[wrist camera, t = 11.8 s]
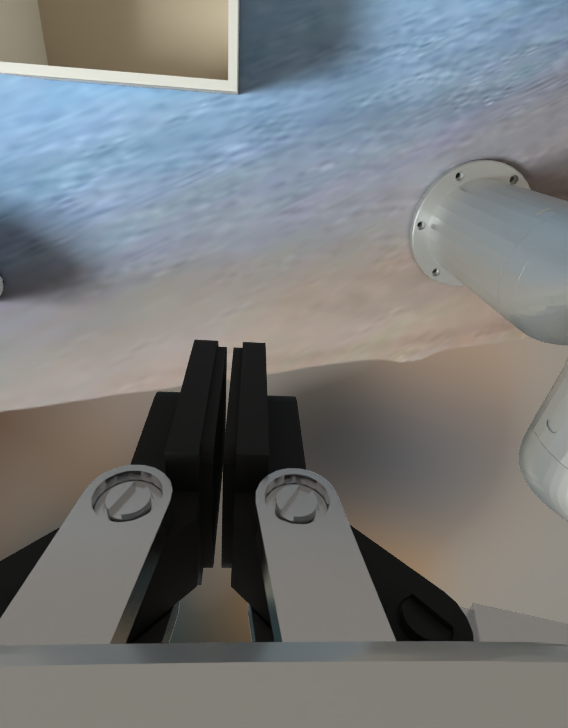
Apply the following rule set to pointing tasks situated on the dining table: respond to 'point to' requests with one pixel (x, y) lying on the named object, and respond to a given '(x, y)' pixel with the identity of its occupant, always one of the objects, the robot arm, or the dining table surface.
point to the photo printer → (1, 285)
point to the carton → (124, 42)
